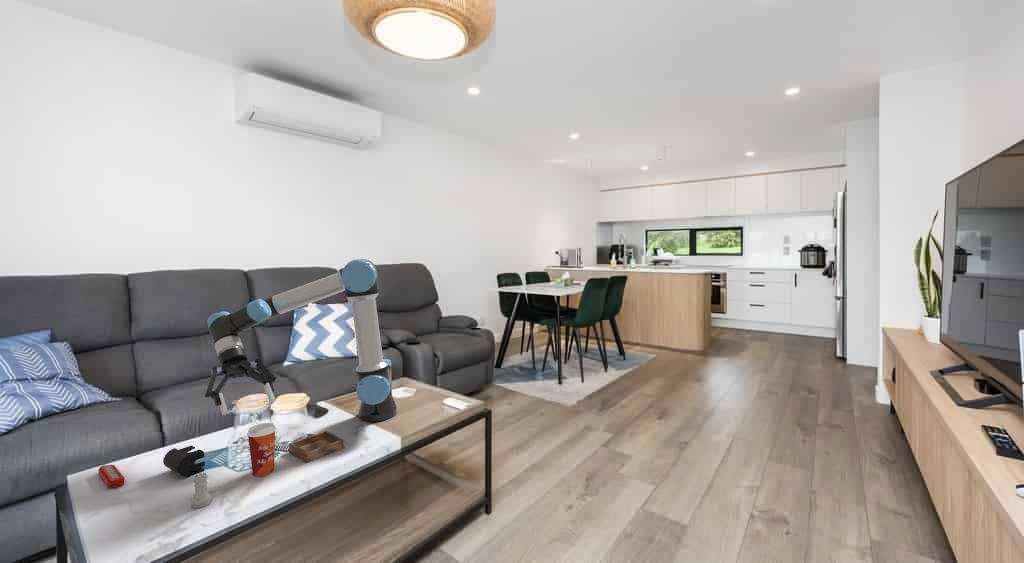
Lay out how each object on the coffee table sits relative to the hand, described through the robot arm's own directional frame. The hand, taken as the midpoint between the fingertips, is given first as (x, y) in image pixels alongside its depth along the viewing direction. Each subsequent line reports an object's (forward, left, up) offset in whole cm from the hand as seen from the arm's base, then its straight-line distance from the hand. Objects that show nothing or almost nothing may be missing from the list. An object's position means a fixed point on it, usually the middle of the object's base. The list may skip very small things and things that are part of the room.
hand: (249, 407), depth 132 cm
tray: (-16, +9, -18) cm, 26 cm away
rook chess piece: (+18, +15, -18) cm, 29 cm away
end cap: (+16, -9, -18) cm, 25 cm away
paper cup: (+1, +10, -18) cm, 21 cm away
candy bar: (+30, -21, -18) cm, 41 cm away
